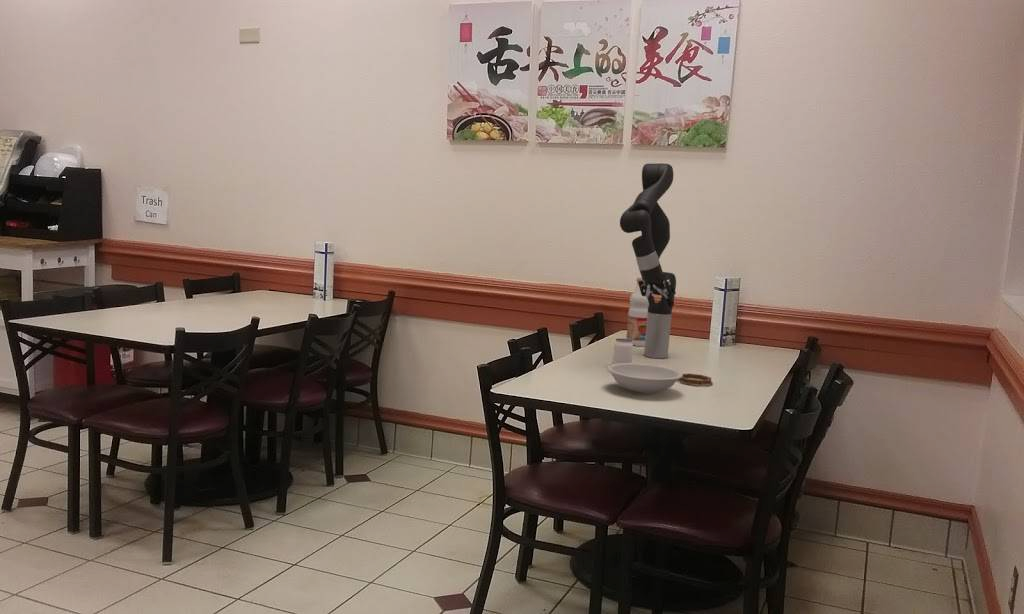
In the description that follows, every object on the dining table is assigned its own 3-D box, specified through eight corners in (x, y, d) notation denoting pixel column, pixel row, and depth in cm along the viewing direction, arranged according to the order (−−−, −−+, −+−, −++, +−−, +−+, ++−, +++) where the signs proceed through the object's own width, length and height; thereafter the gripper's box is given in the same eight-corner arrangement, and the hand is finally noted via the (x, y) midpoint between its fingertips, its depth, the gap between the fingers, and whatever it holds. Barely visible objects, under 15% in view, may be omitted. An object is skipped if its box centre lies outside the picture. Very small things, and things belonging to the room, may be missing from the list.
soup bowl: (602, 380, 280) (604, 360, 279) (674, 385, 279) (676, 365, 278) (608, 397, 256) (610, 376, 255) (687, 402, 255) (689, 381, 255)
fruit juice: (631, 341, 359) (637, 276, 356) (651, 344, 354) (657, 279, 351) (622, 344, 352) (627, 277, 348) (642, 347, 347) (648, 280, 343)
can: (629, 376, 287) (632, 342, 286) (610, 374, 289) (613, 340, 287) (631, 373, 294) (633, 339, 292) (612, 371, 295) (615, 337, 293)
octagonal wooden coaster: (677, 376, 292) (678, 371, 292) (712, 381, 289) (713, 375, 289) (675, 383, 281) (675, 378, 280) (711, 388, 278) (712, 382, 277)
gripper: (671, 260, 290) (684, 302, 294) (641, 260, 301) (654, 301, 306) (657, 269, 286) (670, 311, 290) (627, 269, 297) (640, 310, 302)
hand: (662, 306), depth 298 cm, fingers open, 8 cm apart
